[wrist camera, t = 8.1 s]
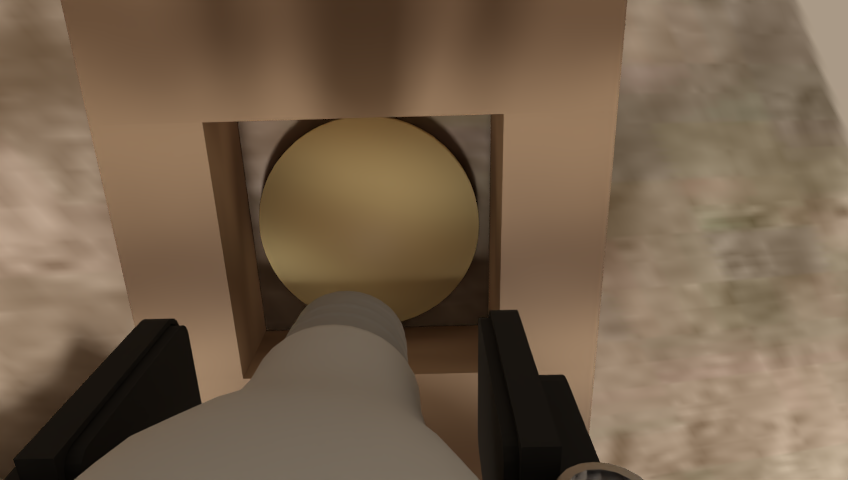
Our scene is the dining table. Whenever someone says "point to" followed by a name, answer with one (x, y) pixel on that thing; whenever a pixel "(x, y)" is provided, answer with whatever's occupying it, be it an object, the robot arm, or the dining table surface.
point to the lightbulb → (304, 412)
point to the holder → (358, 171)
